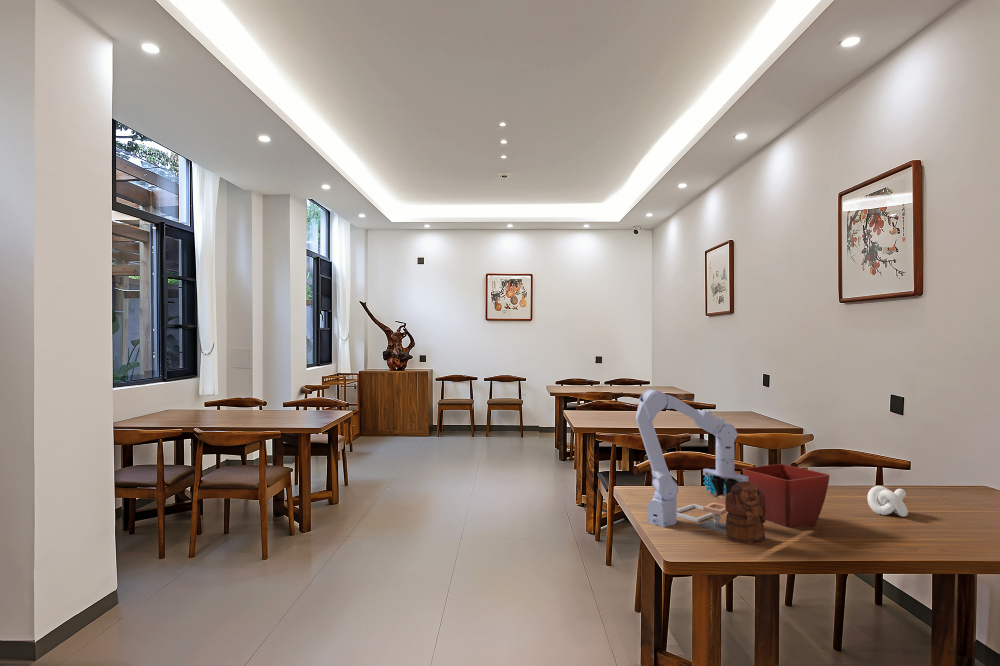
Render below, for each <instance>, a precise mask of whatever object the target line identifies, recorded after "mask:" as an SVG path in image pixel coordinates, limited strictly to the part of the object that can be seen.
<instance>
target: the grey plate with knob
mask: <svg viewBox="0 0 1000 666" xmlns="http://www.w3.org/2000/svg"><path fill="white" fill-rule="evenodd" d="M721 516H722V515H719V514H718V515H713V516H712V518H713V520H712V519H707V520H704V521H703V522H700V523H698V524H695V526H697V527H700V528H703V529H708V530H710V531H714V532H718V533H723V534H724V533H725V532H726V522H725V523H724V522H721V521H720V519H721Z"/></svg>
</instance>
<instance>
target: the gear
mask: <svg viewBox="0 0 1000 666" xmlns="http://www.w3.org/2000/svg"><path fill="white" fill-rule="evenodd" d="M712 477H713V476H709V475H705V476H704V478H703V480H704V482H703V485H704V486H706V487H705V489H706V491H710V494H711V495H715V493H716V490H715V487H714V485H713V483H712V482H711V479H712ZM725 481H727V479H725ZM724 494H727V492H726V485H725V482H724ZM716 496H717V493H716Z"/></svg>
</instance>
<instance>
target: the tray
mask: <svg viewBox="0 0 1000 666" xmlns="http://www.w3.org/2000/svg"><path fill="white" fill-rule="evenodd" d="M704 506H705V505H704ZM704 506H703V505H699V504H695V503H692V504H689V505H685V506H683V507H680V508H677V518H678V517H679V518H682V519H686V520H690V521H694V522H698V523H699V522H702V521H705V520H706V519H707V520H708V519H710V518H713V515H719V514H715V513H711V512H708V513H707V514H703V515H701V516H699V517H697V516H696V517H695V516H691V515H687V514H685V513H682V512H685V511H688V510H691V509H694V508H695V509H699V510H702V511H703V507H704Z"/></svg>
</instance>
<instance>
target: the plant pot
mask: <svg viewBox="0 0 1000 666" xmlns="http://www.w3.org/2000/svg"><path fill="white" fill-rule="evenodd" d="M742 475H744V476H748V482H750V483H753V484H754V485H756V486H757V488H758V489H759V491H761V492H762V493H763V494H764V497H765V509H766V521H768V522H770V523H773V524H776V525H780V526H782V527H785V528H795V527H801V526H805V527H809V526H810V527H812V526H815V525H816V524H817V522H818V519H819V517H820V514H821V512H822V509H823V507H824V503H825V499H826V496H827V492H828V486H829V482H830V474H829V473H823V472H819V471H815V470H810V469H807V468H801V467H797V466H792V465H788V464H785V463H784V464H783V463H779V464H777V463H776V464H767V465H761V466H752V467H743V468H742Z"/></svg>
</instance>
